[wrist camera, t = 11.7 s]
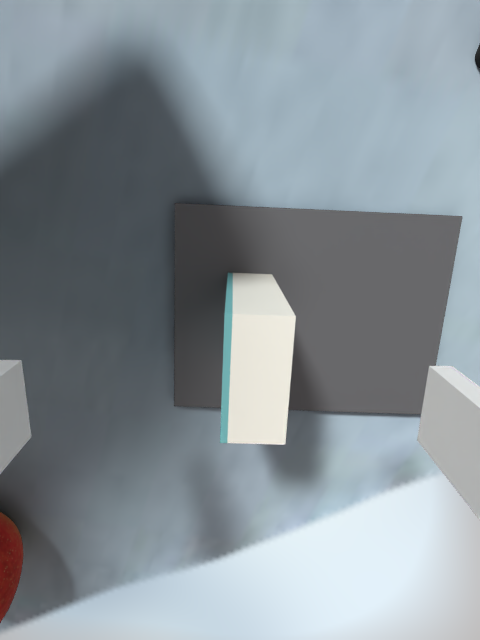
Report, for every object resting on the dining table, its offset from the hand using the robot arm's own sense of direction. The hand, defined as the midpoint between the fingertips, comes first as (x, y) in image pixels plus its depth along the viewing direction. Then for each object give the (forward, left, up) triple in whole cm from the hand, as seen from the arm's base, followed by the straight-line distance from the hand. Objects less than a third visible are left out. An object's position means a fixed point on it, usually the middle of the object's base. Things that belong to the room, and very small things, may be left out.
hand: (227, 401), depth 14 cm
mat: (+5, 0, -13) cm, 14 cm away
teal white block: (+1, -1, -13) cm, 13 cm away
